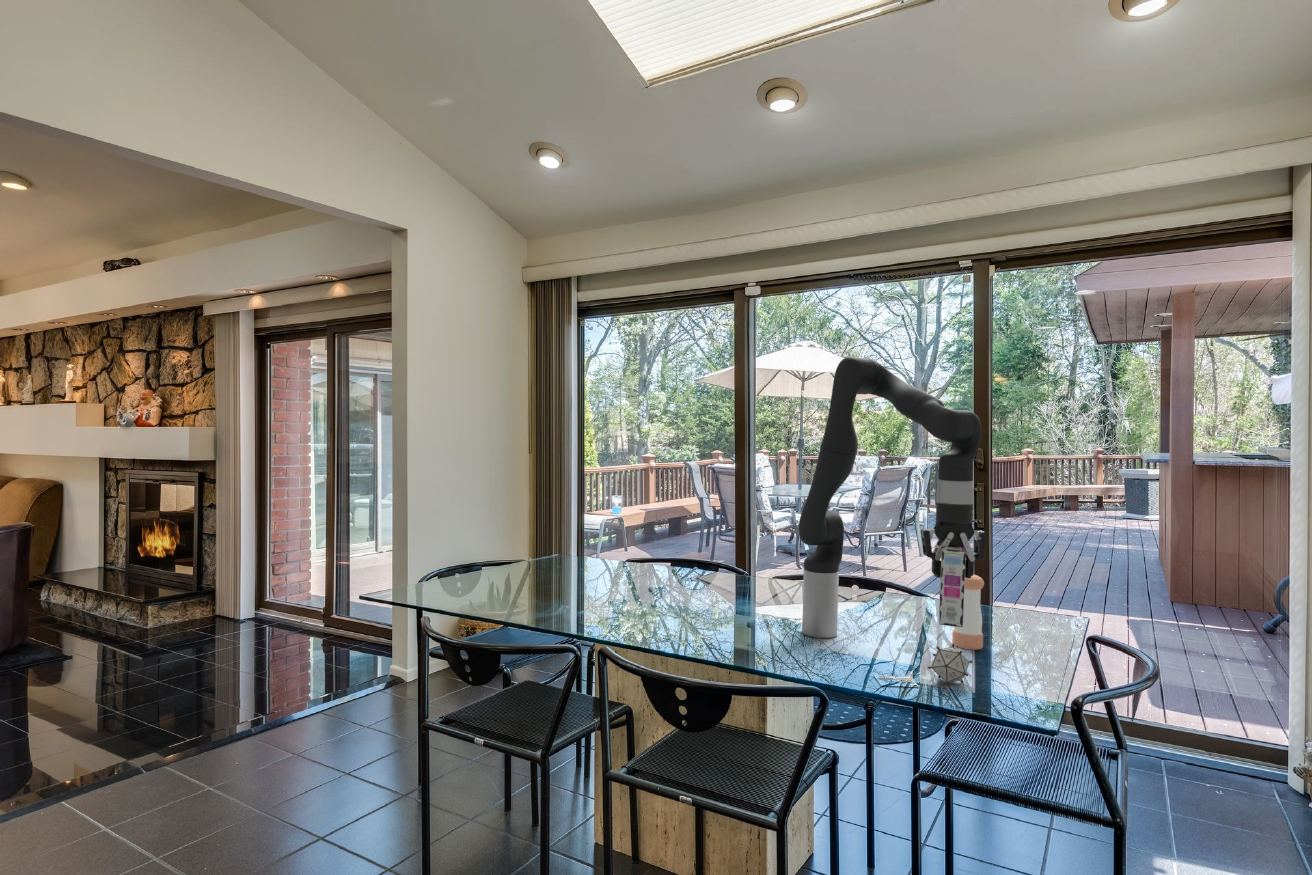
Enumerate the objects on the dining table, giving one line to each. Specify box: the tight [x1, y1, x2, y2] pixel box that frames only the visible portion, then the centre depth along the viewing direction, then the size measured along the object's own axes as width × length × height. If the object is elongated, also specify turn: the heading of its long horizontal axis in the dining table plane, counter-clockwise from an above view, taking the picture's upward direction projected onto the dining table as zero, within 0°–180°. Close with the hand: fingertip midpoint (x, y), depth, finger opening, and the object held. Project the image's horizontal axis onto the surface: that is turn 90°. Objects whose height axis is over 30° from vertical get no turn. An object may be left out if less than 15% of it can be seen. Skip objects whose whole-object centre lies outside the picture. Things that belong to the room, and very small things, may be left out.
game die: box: [927, 644, 974, 687], centre depth 159 cm, size 9×8×10 cm
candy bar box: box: [938, 547, 966, 627], centre depth 159 cm, size 11×5×16 cm, turn 159°
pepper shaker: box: [951, 574, 985, 651], centre depth 187 cm, size 7×7×19 cm
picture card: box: [873, 674, 920, 688], centre depth 158 cm, size 6×8×1 cm
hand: (952, 576), depth 159 cm, fingers closed on candy bar box, 6 cm apart
